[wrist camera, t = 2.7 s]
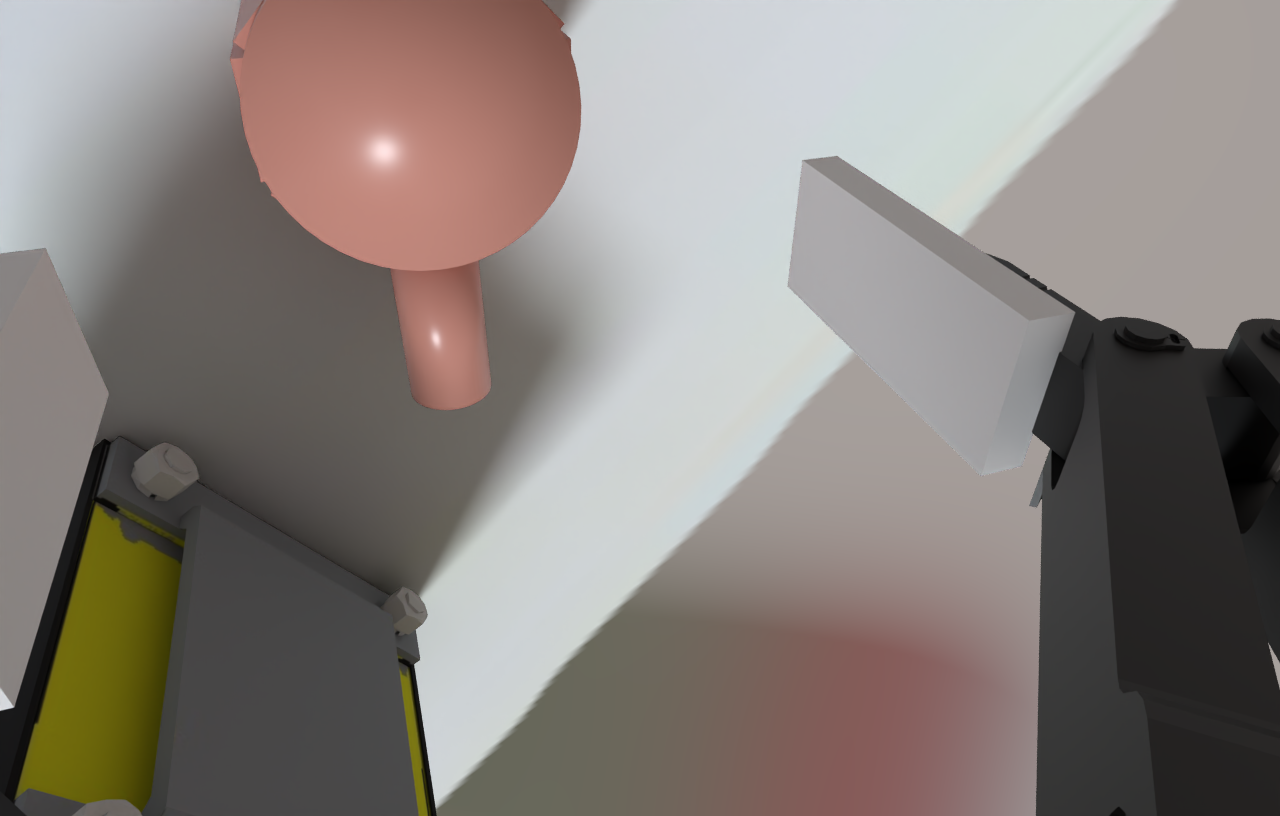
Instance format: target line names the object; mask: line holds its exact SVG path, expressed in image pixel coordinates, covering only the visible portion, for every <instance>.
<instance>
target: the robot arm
mask: <svg viewBox="0 0 1280 816" xmlns="http://www.w3.org/2000/svg"><path fill="white" fill-rule="evenodd" d="M788 287H789V288H790V289H791V290H792V291H793V292H794V293H795V294H796V295H797V296H798V297H799V298H800V299H801V300H802V301H803V302H804V303H805V304H806V305H807V306H808V307H809V308H810V309H811V310H812V311H813V312H814V313H815V314H816V315H817V316H818V317H819V318H820V319H821V320H822V321H823V322H824V323H825V324H826V325H828V326H829V327H830V328H831V329H832V330H833V331H834V332H835V333H836V334H837V335H838V336H839V337H840V338H841V339H842V340H843V341H844V342H845V343H846V344H847V345H848V346H849V347H850V348H851V349H852V350H853V351H854V352H855V353H856V354H857V355H858V356H859V357H860V358H861V359H862V360H863V361H864V362H865V363H866V364H867V365H868V366H869V367H870V368H871V369H872V370H873V371H874V372H875V373H877V375H878V376H880V378H881V379H882V380H884V381H885V382H886V383H887V384H888V385H889V386H890V387H891V388H892V389H893V390H894V391H895V392H896V393H897V394H898V395H899V396H900V397H901V398H902V399H903V400H904V401H905V402H906V403H907V404H908V405H909V406H910V407H911V408H912V409H913V410H914V411H915V412H916V413H917V414H918V415H919V416H920V417H921V418H922V419H923V420H924V421H925V422H926V423H927V424H928V425H930V426H931V428H932V429H933V430H934V431H935V432H936V433H938V434H939V435H940V436H941V437H942V438H943V439H944V440H945V441H946V442H947V443H948V444H949V445H950V446H951V447H952V448H953V449H954V450H955V451H956V452H957V453H958V454H959V455H960V456H961V457H962V458H963V459H964V460H965V461H966V462H967V463H968V464H969V465H970V466H971V467H972V468H973V469H974V470H975V471H976V472H977V473H978V474H979V475H980V476H984V475H988V474H992V473H996V472H1000V471H1005V470H1009V469H1013V468H1017V467H1021V466H1022V465H1023V462H1024V459H1025V456H1026V453H1027V450H1028V448H1029V445H1030V442H1031V439H1032V436H1033V434H1034V435H1035V436H1037V437H1038V438H1039V439H1040V440H1042V442H1044V443H1045V444H1046V445H1047V446H1048V447H1049V448H1050V451H1049V453H1048V456H1047V459H1046V461H1045V464H1044V467H1043V470H1042V472H1041V475H1040V478H1039V480H1038V484H1037V486H1036V489H1035V492H1034V494H1033V497H1032V500H1031V502H1030V506H1032V507H1037V506H1038V504H1039V502H1040V500H1041V499H1042V536H1041V586H1040V637H1039V638H1040V640H1039V641H1040V642H1039V689H1038V690H1039V691H1038V740H1037V788H1036V789H1037V791H1036V816H1280V689H1279V684H1278V681H1277V676H1276V673H1275V669H1274V665H1273V661H1272V657H1271V653H1270V649H1269V645H1270V646H1271V648H1272V650H1273V652H1274V653H1275V655H1276V657H1277V658H1278V660H1279V662H1280V320H1274V319H1251V320H1248V321H1245V322H1242V323H1241V324H1240V325H1239V327H1238V328H1237V330H1236V332H1235V334H1234V336H1233V338H1232V341H1231V343H1230V345H1229V347H1228V349H1196V348H1193V347H1192V345H1191V344H1190V342H1189V340H1188V339H1187V338H1185V337H1184V336H1182V335H1181V334H1179V333H1178V332H1177V331H1175V330H1173V329H1171V328H1168V327H1166V326H1164V325H1161V324H1159V323H1155V322H1151V321H1147V320H1143V319H1139V318H1128V317H1116V318H1107V319H1104V320H1102V321H1100V320H1098V319H1096V318H1095V317H1093V316H1092V315H1090V314H1089V313H1087V312H1086V311H1084V310H1082V309H1081V308H1079V307H1078V306H1076V305H1075V304H1073V303H1072V302H1070V301H1068V300H1067V299H1065V298H1064V297H1062V296H1061V295H1059V294H1058V293H1056V292H1055V291H1053V290H1051V289H1050V290H1047V286H1045V285H1044V284H1042V283H1040V282H1039V281H1037V280H1036V279H1034V278H1031V279H1030V276H1029V275H1028V274H1027V273H1025V272H1024V271H1022V270H1021V269H1019V268H1017V267H1016V266H1014V265H1013V264H1011V263H1010V262H1008V261H1005V260H1003V259H1000V258H997V257H995V256H992V255H989V254H986V253H984V252H983V251H981V250H979V249H978V248H976V247H975V246H973V245H972V244H970V243H969V242H967V241H966V240H964V239H963V238H961V237H960V236H958V235H957V234H955V233H954V232H952V231H951V230H949V229H947V228H946V227H944V226H943V225H941V224H940V223H938V222H937V221H935V220H934V219H932V218H931V217H929V216H928V215H926V214H925V213H923V212H922V211H920V210H919V209H917V208H915V207H914V206H912V205H911V204H909V203H908V202H906V201H905V200H903V199H902V198H900V197H899V196H897V195H896V194H894V193H893V192H891V191H890V190H888V189H886V188H885V187H883V186H882V185H880V184H879V183H877V182H876V181H874V180H873V179H871V178H870V177H868V176H867V175H865V174H864V173H862V172H861V171H859V170H857V169H856V168H854V167H853V166H851V165H850V164H848V163H847V162H845V161H844V160H842V159H841V158H839V157H838V156H834V157H826V158H817V159H809V160H802V169H801V177H800V185H799V194H798V202H797V211H796V219H795V227H794V236H793V244H792V253H791V261H790V269H789V278H788ZM108 396H109V392H108V390H107V388H106V386H105V383H104V381H103V379H102V376H101V374H100V372H99V369H98V367H97V365H96V363H95V360H94V358H93V356H92V353H91V351H90V349H89V347H88V344H87V342H86V340H85V337H84V335H83V333H82V331H81V328H80V326H79V324H78V321H77V319H76V317H75V314H74V312H73V310H72V308H71V305H70V303H69V301H68V298H67V296H66V294H65V292H64V289H63V287H62V285H61V282H60V280H59V278H58V276H57V273H56V271H55V269H54V266H53V264H52V262H51V259H50V257H49V255H48V253H47V250H46V248H44V249H35V250H27V251H18V252H10V253H1V254H0V711H1V710H5V709H10V708H14V706H15V703H16V700H17V696H18V693H19V690H20V686H21V683H22V680H23V676H24V673H25V670H26V667H27V663H28V660H29V657H30V653H31V650H32V647H33V643H34V640H35V637H36V634H37V630H38V627H39V624H40V620H41V617H42V614H43V610H44V607H45V604H46V601H47V597H48V594H49V591H50V587H51V584H52V581H53V577H54V574H55V571H56V568H57V564H58V561H59V558H60V554H61V551H62V548H63V544H64V541H65V538H66V535H67V531H68V528H69V525H70V521H71V518H72V515H73V511H74V508H75V505H76V502H77V498H78V495H79V492H80V488H81V485H82V482H83V478H84V475H85V472H86V469H87V465H88V462H89V459H90V455H91V452H92V449H93V445H94V442H95V439H96V436H97V432H98V429H99V426H100V422H101V419H102V416H103V413H104V409H105V406H106V403H107V399H108ZM1268 643H1269V645H1268ZM0 816H27V815H25V814H24V813H23V812H22V811H21V810H20V809H19V808H18V807H17V806H16V805H15V804H13V803H12V802H11V801H10V800H9V799H8V798H7V797H6V796H5V795H4V794H3V793H1V792H0Z"/></svg>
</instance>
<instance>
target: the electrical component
mask: <svg viewBox="0 0 1280 816" xmlns="http://www.w3.org/2000/svg"><path fill="white" fill-rule="evenodd" d="M198 479H199V474H198V470H197V467H196V465H195V463H194V462H193V460H192V459H191V458H190V457H189V456H188V455H187V454H186V453H184V452H183V451H182V450H181V449H180V448H178V447H176V446H174V445H171V444H169V443H166V442H165V443H161V444H159V445H157V446H155V447H153V448H151V449H150V450H149V451H147V452H146V451H144V450H142V449H141V448H139V447H137V446H135V445H134V444H132V443H130V442H129V441H127V440H125V439H124V438H122V437H120V436H119V437H118V438H117V439H116V440H115V441H113V442H112V443H111V442H109V441H107V440H105V439H104V440H102V441H101V442H100V443H99V444H98V445H97V446H95V447H94V448H93V449H92V452H91V455H90V459H89V462H88V465H87V469H86V472H85V475H84V478H83V482H82V485H81V488H80V492H79V495H78V498H77V502H76V505H75V508H74V511H73V515H72V518H71V521H70V525H69V528H68V531H67V535H66V538H65V541H64V544H63V548H62V551H61V554H60V558H59V561H58V564H57V568H56V571H55V574H54V577H53V581H52V584H51V587H50V591H49V594H48V597H47V601H46V604H45V607H44V610H43V614H42V617H41V620H40V624H39V627H38V630H37V634H36V637H35V640H34V643H33V647H32V650H31V653H30V657H29V660H28V663H27V667H26V670H25V673H24V676H23V680H22V683H21V686H20V690H19V693H18V696H17V700H16V703H15V706H14V708H10V709H5V710H1V711H0V792H1V793H3V794H4V795H5V796H6V797H7V798H8V799H9V800H10V801H11V802H12V803H13V804H15V805H16V806H17V807H18V808H19V809H20V810H21V811H22V812H23V813H24V814H25V815H27V816H437V815H436V808H435V801H434V795H433V788H432V781H431V775H430V768H429V761H428V754H427V748H426V741H425V734H424V728H423V721H422V714H421V708H420V701H419V694H418V688H417V681H416V674H415V668H414V664H415V663H416V662H418V661H419V660H420V655H419V648H418V642H417V636H416V629H417V628H418V627H419V626H421V625H422V624H423V623H424V621H425V620H426V618H427V615H428V614H427V610H426V607H425V604H424V603H423V601H422V600H421V598H420V597H419V596H417V595H416V594H415V593H414V592H413V591H412V590H411V589H408V588H405V587H401V588H400V589H399V590H397V591H396V592H395V593H394V594H392V595H391V596H389V595H387V594H385V593H384V592H382V591H380V590H379V589H377V588H375V587H374V586H372V585H370V584H369V583H367V582H365V581H363V580H362V579H360V578H358V577H357V576H355V575H353V574H352V573H350V572H348V571H347V570H345V569H343V568H342V567H340V566H338V565H336V564H335V563H333V562H331V561H330V560H328V559H326V558H325V557H323V556H321V555H320V554H318V553H316V552H315V551H313V550H311V549H309V548H308V547H306V546H304V545H303V544H301V543H299V542H298V541H296V540H294V539H293V538H291V537H289V536H287V535H286V534H284V533H282V532H281V531H279V530H277V529H276V528H274V527H272V526H271V525H269V524H267V523H266V522H264V521H262V520H260V519H259V518H257V517H255V516H254V515H252V514H250V513H249V512H247V511H245V510H244V509H242V508H240V507H239V506H237V505H235V504H233V503H232V502H230V501H228V500H227V499H225V498H223V497H222V496H220V495H218V494H217V493H215V492H213V491H211V490H210V489H208V488H206V487H205V486H203V485H201V484H200V483H198V482H196V480H198Z"/></svg>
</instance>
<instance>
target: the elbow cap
mask: <svg viewBox="0 0 1280 816" xmlns="http://www.w3.org/2000/svg"><path fill="white" fill-rule="evenodd" d="M563 25H564V23H563V22H562V21H561V20H560V19H559V18H558V17H557V16H556V15H555V14H554V13H553V12H552V11H551V10H550V9H549V8H548V7H547V5H546V4H545V3H544V2H543V1H542V0H242V1H241V5H240V10H239V15H238V20H237V24H236V29H235V34H234V39H233V47H232V52H231V56H230V61H231V65H232V69H233V73H234V77H235V81H236V85H237V89H238V93H239V97H240V108H241V116H242V121H243V126H244V132H245V136H246V139H247V142H248V145H249V148H250V151H251V154H252V157H253V159H254V161H255V163H256V165H257V168H258V172H259V176H260V180H261V182H266V184H267V186H268V187H269V189H270V190H271V196H272V197H274V198H276V199H277V200H278V201H279V202H280V204H281V205H282V206H283V207H284V208H285V210H286V211H287V212H288V213H289V214H290V215H291V216H292V217H293V218H294V219H295V220H296V221H297V222H298V223H299V224H300V225H302V226H303V227H304V228H305V229H306V230H307V231H309V232H310V233H311V234H313V235H314V236H315V237H317V238H318V239H320V240H321V241H322V242H324V243H326V244H327V245H329V246H331V247H333V248H334V249H336V250H338V251H340V252H342V253H344V254H346V255H349V256H351V257H353V258H356V259H358V260H360V261H364V262H367V263H370V264H374V265H377V266H381V267H386V268H390V271H391V277H392V283H393V289H394V295H395V300H396V306H397V312H398V318H399V324H400V330H401V336H402V341H403V347H404V353H405V359H406V365H407V371H408V376H409V382H410V388H411V394H412V397H413V398H414V400H415V401H416V402H417V403H419V404H420V405H422V406H425V407H427V408H431V409H437V410H454V409H460V408H464V407H468V406H470V405H473V404H475V403H477V402H479V401H480V400H482V399H483V398H484V397H485V396H486V395H487V394H488V393H489V391H490V389H491V375H490V366H489V356H488V346H487V337H486V327H485V317H484V308H483V298H482V289H481V279H480V269H479V260H481V259H483V258H485V257H487V256H490V255H492V254H494V253H496V252H498V251H500V250H501V249H503V248H505V247H506V246H508V245H510V244H511V243H513V242H514V241H516V240H517V239H518V238H519V237H521V236H522V235H523V234H524V233H526V232H527V231H528V230H529V229H530V228H531V227H532V226H533V225H534V224H535V223H536V222H537V221H538V220H539V219H540V218H541V217H542V216H543V215H544V213H545V212H546V211H547V209H548V208H549V207H550V206H551V204H552V203H553V202H554V200H555V198H556V197H557V195H558V193H559V192H560V190H561V188H562V187H563V185H564V183H565V180H566V178H567V176H568V173H569V171H570V169H571V166H572V163H573V160H574V156H575V153H576V149H577V145H578V139H579V133H580V125H581V99H580V87H579V81H578V77H577V72H576V67H575V63H574V60H573V58H572V55H571V39H570V38H569V37H568V36H567V35H566V34H564V33H563V32H562V31H561V27H562V26H563Z"/></svg>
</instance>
